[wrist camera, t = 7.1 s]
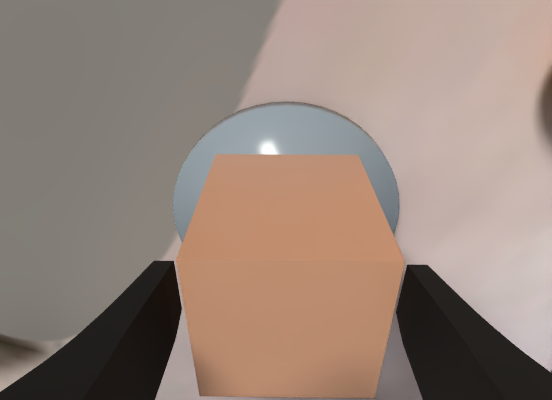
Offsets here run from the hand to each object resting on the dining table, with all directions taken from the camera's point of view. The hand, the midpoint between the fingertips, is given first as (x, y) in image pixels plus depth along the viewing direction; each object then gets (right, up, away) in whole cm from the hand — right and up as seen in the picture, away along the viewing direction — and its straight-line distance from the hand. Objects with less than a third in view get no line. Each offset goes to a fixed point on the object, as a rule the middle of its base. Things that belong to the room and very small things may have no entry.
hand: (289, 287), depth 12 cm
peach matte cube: (0, +2, +3) cm, 4 cm away
